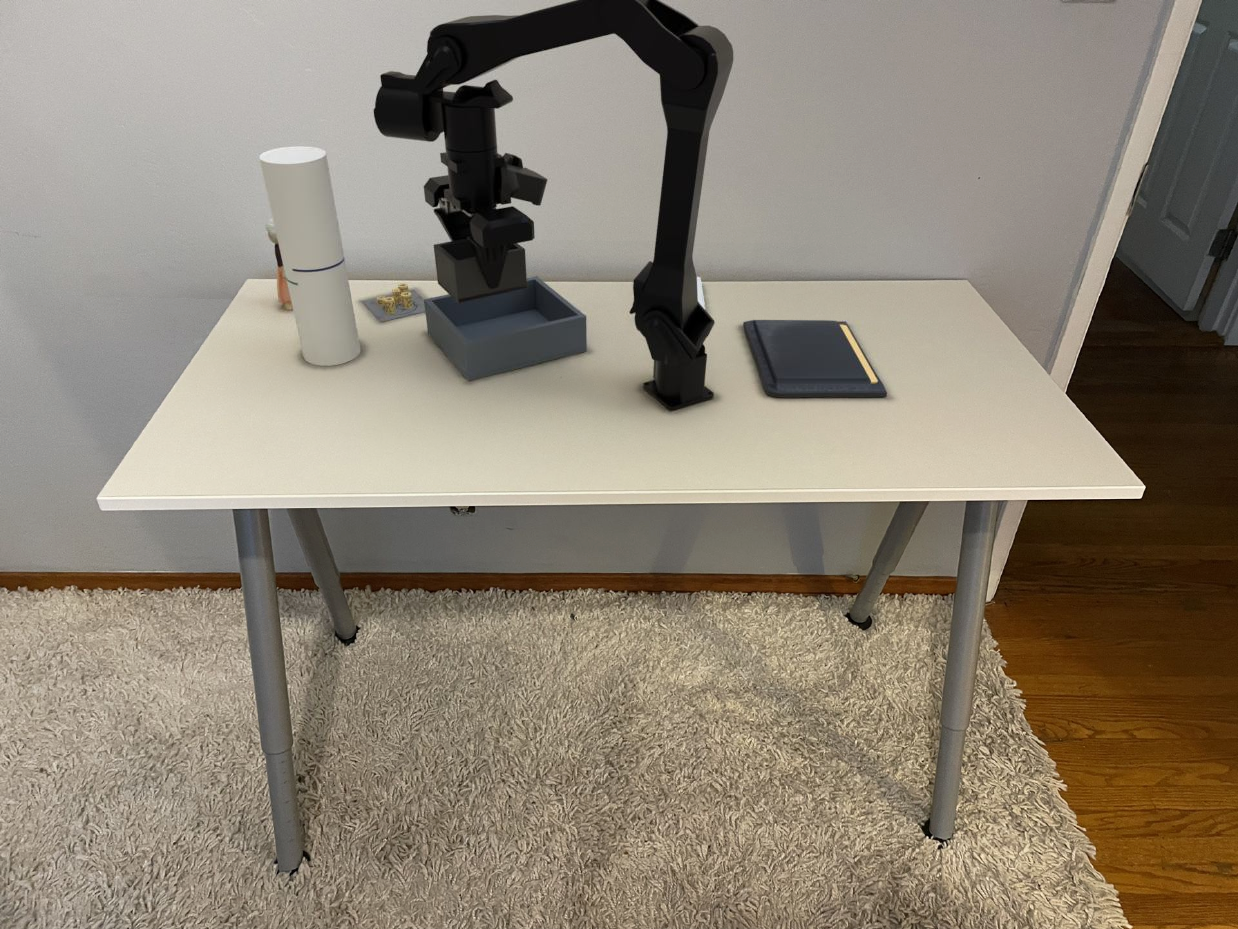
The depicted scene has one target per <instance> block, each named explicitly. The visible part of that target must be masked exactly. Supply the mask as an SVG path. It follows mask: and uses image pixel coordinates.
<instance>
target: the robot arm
mask: <svg viewBox="0 0 1238 929" xmlns="http://www.w3.org/2000/svg"><path fill="white" fill-rule="evenodd" d="M609 35H616V36H617V37H618V38H620V39H621V40H622V41H623V42H625V44H626V45H627V46H628V47H629V48H630V49H631V50H632V52H633V53H634V55H636V56H637V58H638V59H639V60H640V61H641V62H642V63H644V64H645V65H646V66H648V68H650V69H651V70H653V71H654V72H655V73H657V74H658V75H659V86H660V87H659V88H660V102H661V107H662V113H663V116H664V120H665V125H666V134H667V135H666V142H665V150H664V161H663V168H662V169H663V170H662V178H661V179H662V180H661V188H660V198H659V206H658V207H659V208H658V216H657V225H656V235H655V242H654V243H655V245H654V251H653V261H651V260H650V261H648V262H647V263H646V264H645V266H644V267H643V268H642V269H641V270H640V272H639V273H638V274H637V275H636V277H635V278H634V279H633V282H632V291H633V293H632V294H633V301H632V306H631V308H630V310H629V311H628V312H629V314H630V315H633V314H634V325H635V328H636V330H637V331H638V332H639V333H640V334H641V335H642V336H643V337H644V339H645V341H646V344H647V347H648V350H649V354H650V357H651V360H653V372H652V373H653V374H652V375H653V376H652V377H653V379H652V380H648V381H645V382H643V383H642V388H643V389H644V390H645V391H646V392H648V393H649V394H650V395H651V396H652V397H654V399H656V400H657V401H658V402H660V404H661V405H663V406H664V407H665V408H666V409H668V410H670V411H673V410H674V411H675V410H677V409H680V408H681V409H682V408H684V407H687V406H690V405H694V404H697V403H700V402H701V403H702V402H704V401H708V400H710V399H713V398H714V396H715V393H714V392H713V391H712V390H711V389H710V388H709V387H707V386H706V385H705V384H706V383H705V382H706V373H707V361H708V354H707V353H706V347H705V344H704V343H705V341H706V339H707V338H708V337H709V336H710V333H711V331H712V330H713V327H714V326H715V323H716V322H715V319H713V317H712V316H711V315H710V313H709V312H707V309H706V308H705V309H704V308H703V307H702V306H701V304H700V303H699V302H698V294H697V277H698V276H697V273H696V268H695V265H694V260H693V258H694V257H693V254H694V246H695V239H696V233H697V225H698V217H699V210H700V204H701V195H702V190H703V183H704V182H703V181H704V174H705V168H706V167H705V166H706V159H707V152H708V144H709V139H710V138H709V137H710V130H711V128H712V124H713V122H714V120H715V117H716V114H717V112H718V110H719V107H720V104H721V102H722V100H723V96H724V93H725V91H726V87H727V84H728V80H729V77H730V74H731V72H732V68H733V64H734V48H733V44H732V43H731V42H730V40H729V38H728V37H727V35H726V34H725V33H724V32H722V31H721V30H720V29H719V28H717V27H714V26H711V25H699V24H698V23H697V22H695V21H694V20H693V19H692V18H690V17H689V16H688V15H686V14H684V13H683V12H681V11H679V10H678V9H676V8H674V7H672V6H670V5H669V4H666V3H664V2H663V1H661V0H571V1H568V2H567V1H566V2H563V3H560V4H556V5H552V6H549V7H545V8H542V9H538V10H534V11H530V12H527V13H523V14H519V15H518V14H517V15H515V14H514V15H503V14H501V15H499V14H491V15H490V14H488V15H487V14H486V15H470V16H465V17H462V18H458V19H455V20H451V21H448V22H444V23H441V24H438V25H436V26H435V27H433V28H432V29H431V30H430V32H429V36H428V38H427V44H426V53H427V54H426V56H425V57H424V59H423V61H422V63H421V65H420V67H419V69H418V71H417V73H416V74H407V73H406V74H405V73H402V72H401V71H393V70H392V71H391V70H390V71H386V72H384V73H381V74H380V77H379V78H380V84H381V86H380V87H379V88H378V91H377V93H376V96H375V102H374V108H373V118H374V122H375V125H376V128H377V129H378V131H379V133H380V134H382V136H384V137H386V138H387V137H388V138H394V139H404V140H412V141H420V142H428V143H432V142H435V141H436V140H438V138H439V137H440V136H441V134H443V137H444V146H445V152H439V158H440V163H441V164H442V165H444V166H446V167H447V175H439V176H432V177H429V178H428V180H427V181H426V182H425V184H423V194H424V201H425V203H427V204H428V205H429V206H430V207H431V208H434V209H433V213H434V215H435V216H436V217H437V219H438V221H439V222H440V224H441V226H442V228H443V229H444V231H445V233H446V234H447V236H448V238H449V240H450V242H451V241H456V240H461V239H468V241H469V244H470V246H471V248H472V250H473V253H474V255H475V257H476V260H477V262H478V264H479V267H480V269H481V271H482V274H483V276H484V278H485V280H486V282H487V285H488V287H489V288H490V289H494V288H498V286H499V283H500V279H501V275H502V272H503V268H504V264H505V260H506V257H507V254H508V251H509V249H510V247H511V246H512V245H513V244H516V243H517V244H521V243H525V242H530V241H531V242H532V241H533V240H534V239H536V238H535V222H534V220H533V219H531V218H530V217H529V215H527V214H525V213H524V212H523V211H521V210H519V209H518V208H517V207H515V206H513V205H512V206H511V205H510V206H505V207H500V208H497V207H498V205H502V206H503V205H509V204H512V199H515V200H520V201H524V202H529V203H531V204H532V205H534V206H540V207H541V205H542V201H543V197H544V195H545V191H546V187H547V184H548V178H546V177H545V176H544V175H542V174H540V173H538V172H536V171H534V170H531V169H530V168H528V167H524V163H523V159H522V158H521V157H519V156H517V155H516V154H512V153H509V152H504V154H503V155H502V154H500V153H498V152H499V151H498V140H497V126H496V125H497V123H496V110H497V109H501V108H503V107H504V106H506V105H509V104H511V103H512V102H514V97H513V95H512V94H511V93H509V92H508V90H507V89H505V88H504V87H503V86H502V85H501V84H500V82H499V80H498V79H492V80H491V81H488V82H486V83H485V84H484V86H478V85H469V84H465V83H467V82H471V81H472V80H475V79H477V78H479V77H482V76H484V75H486V74H489V73H491V72H493V71H496V70H497V69H499V68H502V67H503V66H506V65H507V64H509V63H511V62H513V61H515V60H517V59H520V57H525V56H530V55H532V54H538V53H541V52H544V51H545V52H546V51H549V50H552V49H557V48H561V47H565V46H569V45H573V44H578V43H581V42H586V41H589V40H594V39H597V38H602V37H606V36H609ZM456 85H457V86H459V85H461V86H459V87H458V88H457V89H456V90H455V91H445V90H444V88H447V87H449V86H456ZM495 109H496V110H495ZM438 206H439V207H438Z"/></svg>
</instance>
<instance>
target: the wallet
mask: <svg viewBox="0 0 1238 929" xmlns="http://www.w3.org/2000/svg"><path fill="white" fill-rule="evenodd" d="M742 328H743V331H744V334H745V337H746V340H747V343H748V345H749V348H750V351H751V353H752V356H753V359H754V362H755V364H756V368H757V372H758V374H759V378H760V382H761V385H762V388H763V390H764V392H765V394H766V395H768V396H771V397H775V398H887V396H888V392H887V390H886V389H887V388H886V387H885V385H884V383H883V382H882V380H881V379H880V377H879V376H878V374H877V373H876V371H875V369H874V367H873V365H872V364H871V362H870V361H869V358H868V357H867V355H866V353H865V351H864V350H863V348H862V347H861V345H860V343H859V342H858V340H857V337H856V336H855V334H854V333H853V331H852V329H851V328H850V326H849V323H847V321H846V320H845V321H843V320H842V321H841V320H839V321H837V320H827V319H826V320H825V319H824V320H823V319H822V320H821V319H819V320H817V319H816V320H815V319H751V320H746V321H743V324H742Z"/></svg>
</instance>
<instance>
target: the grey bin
mask: <svg viewBox="0 0 1238 929" xmlns="http://www.w3.org/2000/svg"><path fill="white" fill-rule="evenodd" d="M423 299H424V305H425V312H424V313H425V320H426V328H427V335H428V336H429V337H430V338H431V339H432V340H433V342H434V343H435V345H437V346H438V347H439V349H440V350H441V351H442V352H443V353H444V354H445V355H446V357H447V358H448V359H449V360H450V361H451V362H452V364H453V365H454V366H455V368H456V369H458V371H459V372H460V373H461V375H463V376H464V378H465V379H466V380H467V381H468V382H471V381H474V380H478V379H482V378H486V377H490V376H494V375H498V374H503V373H507V372H510V371H515V370H518V369H522V368H527V367H530V366H534V365H538V364H542V363H545V362H550V361H554V360H558V359H561V358H566V357H570V356H574V355H579V354H583V353H586V352H587V350H588V348H587V315H586V314H585V313H583V312H582V311H581V310H579V309H578V308H577V307H576V306H574V305H573V304H572V303H571V302H570V301H568V300H567V299H566V298H564V297H563V296H562V295H561V294H559V292H557V291H556V290H554V289H553V287H551V286H549V285H548V284H547V283H546V282H544V280H542V279H541V278H540V277H539V276H537V275H536V276H532V277H527V288H525V289H521V290H516V291H512V292H507V293H503V294H498V295H494V296H489V297H484V298H480V299H475V300H471V301H466V302H462V303H458V302H457V301H456V300H455V299H454V298H453V297H451V296H450V295H449V294H448V293H447V294H444V295H443V294H442V295H438V296H432V297H429V298H423Z"/></svg>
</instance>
